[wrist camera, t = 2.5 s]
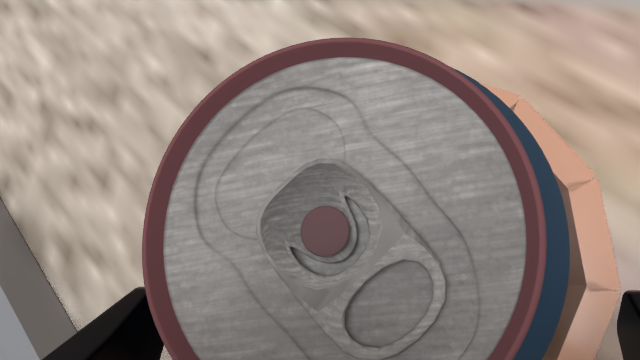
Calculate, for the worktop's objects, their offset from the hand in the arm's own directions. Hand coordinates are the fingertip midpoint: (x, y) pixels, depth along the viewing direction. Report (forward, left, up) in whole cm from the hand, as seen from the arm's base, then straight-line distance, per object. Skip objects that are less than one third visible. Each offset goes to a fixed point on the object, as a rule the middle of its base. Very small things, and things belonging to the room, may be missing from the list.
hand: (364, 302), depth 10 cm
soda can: (+1, 0, -9) cm, 9 cm away
